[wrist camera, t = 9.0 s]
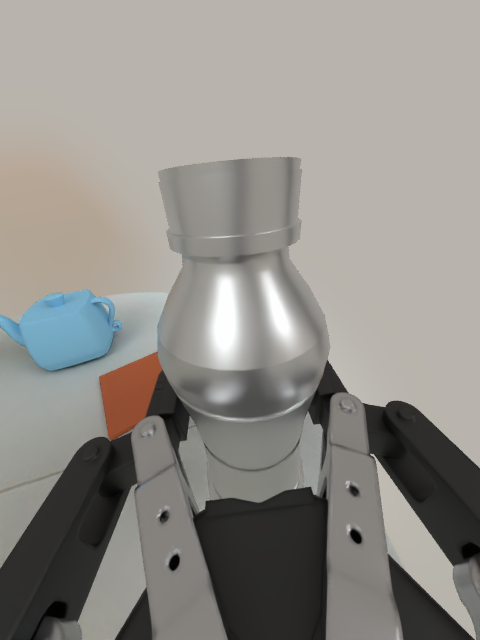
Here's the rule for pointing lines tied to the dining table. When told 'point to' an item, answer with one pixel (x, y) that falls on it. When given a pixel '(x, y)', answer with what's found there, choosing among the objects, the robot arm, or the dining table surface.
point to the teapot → (65, 329)
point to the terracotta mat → (129, 393)
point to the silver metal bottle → (241, 321)
